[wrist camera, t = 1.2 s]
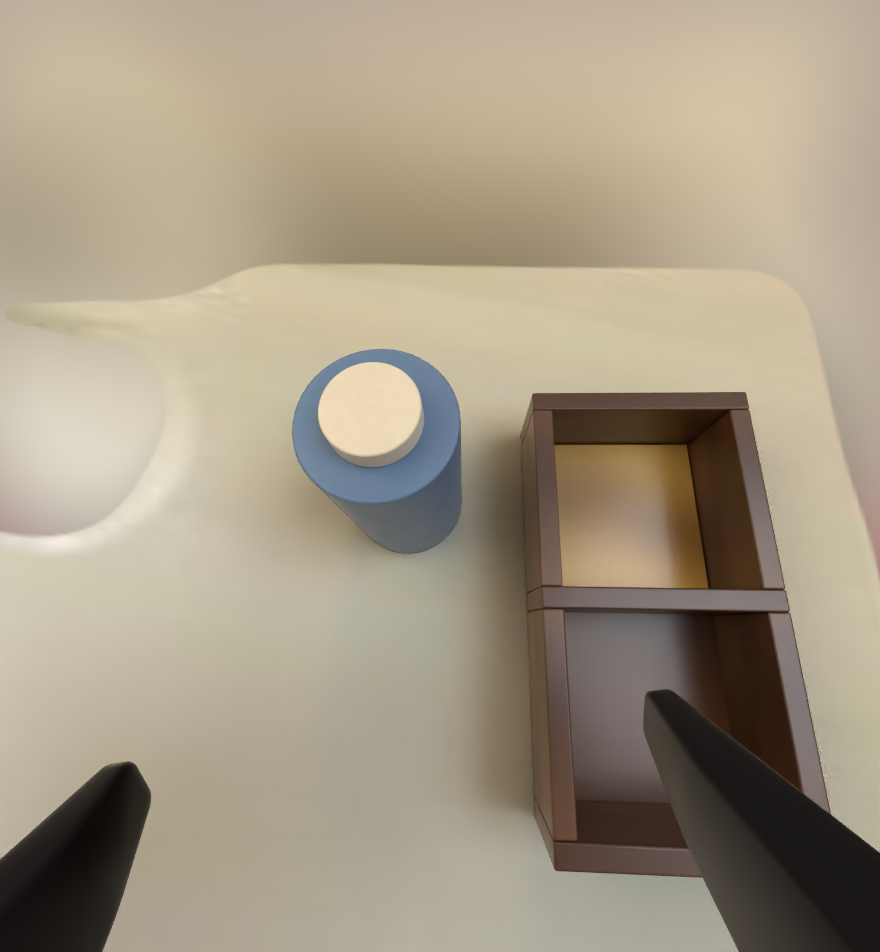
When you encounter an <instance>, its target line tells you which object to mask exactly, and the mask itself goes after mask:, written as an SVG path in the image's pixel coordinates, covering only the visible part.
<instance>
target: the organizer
mask: <svg viewBox="0 0 880 952" xmlns="http://www.w3.org/2000/svg"><path fill="white" fill-rule="evenodd" d="M748 409H749V406H748V401H747V396H746V393H745V392H709V393H534V394H533V395H532V398H531V401H530V405H529V408H528V411H527V415H526V418H525V421H524V425H523V428H522V431H521V435H520V437H521V465H522V492H523V520H524V547H525V574H526V602H527V629H528V657H529V684H530V711H531V739H532V766H533V794H534V816H535V819H536V821H537V824H538V826H539V829H540V832H541V834H542V837H543V840H544V842H545V845H546V848H547V850H548V853H549V855H550V858H551V861H552V863H553V866H554V869H555V870H556V871H570V872H592V873H614V874H636V875H658V876H679V877H701V878H703V877H702V875H701V873H700V871H699V869H698V867H697V865H696V863H695V861H694V858H693V856H692V854H691V852H690V850H689V848H688V846H687V843H686V841H685V839H684V837H683V834H682V832H681V829H680V827H679V824H678V822H677V819H676V817H675V814H674V811H673V809H672V806H671V804H670V801H669V798H668V796H667V793H666V790H665V788H664V785H663V782H662V780H661V777H660V774H659V772H658V769H657V767H656V764H655V761H654V759H653V756H652V753H651V751H650V748H649V745H648V743H647V740H646V737H645V734H644V729H643V717H644V700H645V695H646V693H647V692H649V691H655V690H662V689H669V690H671V691H673V692H675V693H676V694H677V695H679V696H680V697H681V698H683V699H684V700H685V701H686V702H688V703H689V704H690V705H692V706H693V707H694V708H695V709H697V710H698V711H699V712H700V713H702V714H703V715H704V716H706V717H707V718H708V719H709V720H711V721H712V722H713V723H715V724H716V725H717V726H718V727H720V728H721V729H722V730H723V731H725V732H726V733H727V734H729V735H730V736H731V737H732V738H734V739H735V740H736V741H737V742H739V743H740V744H741V745H743V746H744V747H745V748H746V749H748V750H749V751H750V752H752V753H753V754H754V755H755V756H757V757H758V758H759V759H760V760H762V761H763V762H764V763H766V764H767V765H768V766H769V767H771V768H772V769H773V770H775V771H776V772H777V773H778V774H780V775H781V776H782V777H783V778H785V779H786V780H787V781H789V782H790V783H791V784H792V785H794V786H795V787H796V788H797V789H799V790H800V791H801V792H803V793H804V794H805V795H806V796H808V797H809V798H810V799H812V800H813V801H814V802H815V803H817V804H818V805H819V806H820V807H822V808H823V809H824V810H826V811H827V812H828V813H829V814H831V813H830V808H829V803H828V798H827V793H826V788H825V783H824V778H823V773H822V768H821V763H820V758H819V753H818V748H817V743H816V738H815V733H814V728H813V723H812V718H811V713H810V709H809V704H808V699H807V694H806V689H805V684H804V679H803V674H802V669H801V664H800V659H799V654H798V649H797V644H796V639H795V634H794V629H793V624H792V619H791V615H790V613H788V612H789V611H790V609H789V604H788V599H787V594H786V591H785V590H783V589H785V585H784V580H783V575H782V570H781V565H780V560H779V555H778V550H777V545H776V540H775V535H774V530H773V525H772V520H771V515H770V510H769V505H768V500H767V495H766V491H765V486H764V481H763V476H762V471H761V466H760V461H759V456H758V451H757V446H756V441H755V436H754V431H753V426H752V421H751V416H750V411H749V410H748Z"/></svg>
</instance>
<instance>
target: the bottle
mask: <svg viewBox="0 0 880 952" xmlns="http://www.w3.org/2000/svg"><path fill="white" fill-rule="evenodd" d="M292 437H293V445H294V449H295V453H296V456H297V459H298V461H299V463H300V465H301V467H302V468H303V470H304V472H305V473H306V474H307V476H308V477H309V478H310V479H311V480H312V481H313V482H314V483H315V484H316V485H317V486H318V487H319V488H320V489H321V490H322V491H323V492H324V493H325V494H326V495H327V496H328V497H329V498H330V499H331V500H332V501H333V502H334V503H335V504H336V505H337V506H338V507H339V508H340V509H341V510H343V511H344V512H345V513H346V514H347V515H348V516H349V517H350V518H351V519H352V520H353V521H354V522H355V523H356V524H357V525H358V526H359V527H360V528H361V529H362V530H363V531H364V532H365V533H366V534H367V535H368V536H369V537H370V538H371V539H373V540H374V541H375V542H376V543H377V544H379V545H380V546H382V547H384V548H386V549H388V550H391V551H394V552H399V553H416V552H421V551H424V550H428V549H430V548H432V547H434V546H436V545H437V544H439V543H440V542H441V541H443V540H444V539H445V538H446V537H447V536H448V535H449V534H450V532H451V531H452V530H453V528H454V527H455V525H456V523H457V521H458V518H459V515H460V511H461V503H462V491H461V421H460V411H459V406H458V402H457V399H456V396H455V394H454V392H453V390H452V388H451V386H450V384H449V383H448V382H447V380H446V379H445V378H444V376H443V375H442V374H441V373H440V372H439V371H438V370H437V369H435V368H434V367H433V366H432V365H430V364H429V363H427V362H426V361H424V360H422V359H421V358H419V357H416V356H414V355H412V354H409V353H405V352H402V351H397V350H391V349H373V350H366V351H360V352H357V353H353V354H350V355H348V356H345V357H343V358H341V359H339V360H337V361H335V362H333V363H332V364H330V365H329V366H327V367H326V368H325V369H323V370H322V371H321V372H320V373H319V374H318V375H317V376H316V377H315V378H314V379H313V380H312V381H311V382H310V384H309V385H308V386H307V388H306V389H305V391H304V392H303V394H302V396H301V398H300V400H299V402H298V404H297V407H296V410H295V414H294V419H293V428H292Z"/></svg>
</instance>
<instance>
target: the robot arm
mask: <svg viewBox="0 0 880 952" xmlns="http://www.w3.org/2000/svg"><path fill="white" fill-rule="evenodd" d="M643 729H644V734H645V737H646V740H647V743H648V745H649V748H650V751H651V753H652V756H653V759H654V761H655V764H656V767H657V769H658V772H659V774H660V777H661V780H662V782H663V785H664V788H665V790H666V793H667V796H668V798H669V801H670V804H671V806H672V809H673V811H674V814H675V817H676V819H677V822H678V824H679V827H680V829H681V832H682V834H683V837H684V839H685V841H686V843H687V846H688V848H689V850H690V852H691V854H692V856H693V858H694V861H695V863H696V865H697V867H698V869H699V871H700V873H701V875H702V877H703V879H704V881H705V883H706V885H707V887H708V889H709V891H710V893H711V895H712V897H713V899H714V902H715V904H716V906H717V908H718V910H719V912H720V914H721V916H722V918H723V920H724V922H725V924H726V926H727V928H728V930H729V932H730V934H731V936H732V938H733V940H734V943H735V945H736V947H737V949H738V951H739V952H880V853H879V852H878V851H877V850H875V849H874V848H873V847H872V846H870V845H869V844H868V843H866V842H865V841H864V840H863V839H861V838H860V837H859V836H858V835H856V834H855V833H854V832H852V831H851V830H850V829H849V828H847V827H846V826H845V825H843V824H842V823H841V822H840V821H838V820H837V819H836V818H835V817H833V816H832V815H831V814H829V813H828V812H827V811H826V810H824V809H823V808H822V807H820V806H819V805H818V804H817V803H815V802H814V801H813V800H812V799H810V798H809V797H808V796H806V795H805V794H804V793H803V792H801V791H800V790H799V789H797V788H796V787H795V786H794V785H792V784H791V783H790V782H789V781H787V780H786V779H785V778H783V777H782V776H781V775H780V774H778V773H777V772H776V771H775V770H773V769H772V768H771V767H769V766H768V765H767V764H766V763H764V762H763V761H762V760H760V759H759V758H758V757H757V756H755V755H754V754H753V753H752V752H750V751H749V750H748V749H746V748H745V747H744V746H743V745H741V744H740V743H739V742H737V741H736V740H735V739H734V738H732V737H731V736H730V735H729V734H727V733H726V732H725V731H723V730H722V729H721V728H720V727H718V726H717V725H716V724H715V723H713V722H712V721H711V720H709V719H708V718H707V717H706V716H704V715H703V714H702V713H700V712H699V711H698V710H697V709H695V708H694V707H693V706H692V705H690V704H689V703H688V702H686V701H685V700H684V699H683V698H681V697H680V696H679V695H677V694H676V693H675V692H673V691H671V690H669V689H662V690H655V691H649V692H647V693H646V695H645V700H644V717H643ZM150 803H151V793H150V789H149V787H148V785H147V784H146V782H145V780H144V778H143V777H142V775H141V773H140V771H139V770H138V768H137V766H136V765H135V764H134V763H132V762H122V763H114V764H110V765H107V766H105V767H104V768H102V769H101V770H100V771H99V772H97V773H96V774H95V775H94V776H93V777H92V778H91V779H90V780H89V781H87V782H86V783H85V784H84V785H83V786H82V787H81V788H80V789H78V790H77V791H76V792H75V793H74V794H73V795H72V796H71V797H70V798H68V799H67V800H66V801H65V802H64V803H63V804H62V805H61V806H59V807H58V808H57V809H56V810H55V811H54V812H53V813H52V814H51V815H49V816H48V817H47V818H46V819H45V820H44V821H43V822H42V823H40V824H39V825H38V826H37V827H36V828H35V829H34V830H33V831H32V832H30V833H29V834H28V835H27V836H26V837H25V838H24V839H23V840H21V841H20V842H19V843H18V844H17V845H16V846H15V847H14V848H13V849H11V850H10V851H9V852H8V853H7V854H6V855H5V856H4V857H3V858H1V859H0V952H102V951H103V948H104V946H105V943H106V941H107V938H108V936H109V933H110V930H111V928H112V925H113V922H114V920H115V917H116V914H117V911H118V908H119V905H120V902H121V899H122V896H123V893H124V890H125V887H126V883H127V880H128V877H129V874H130V870H131V867H132V864H133V860H134V857H135V854H136V851H137V847H138V844H139V841H140V837H141V834H142V831H143V828H144V824H145V821H146V818H147V814H148V811H149V808H150Z"/></svg>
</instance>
